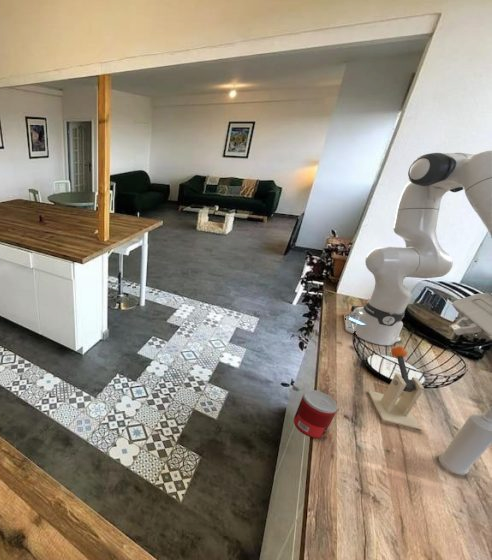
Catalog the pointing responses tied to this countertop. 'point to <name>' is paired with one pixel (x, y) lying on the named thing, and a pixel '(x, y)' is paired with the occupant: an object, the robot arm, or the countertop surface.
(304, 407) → the canned food
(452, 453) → the bottle
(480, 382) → the countertop surface
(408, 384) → the switch lever
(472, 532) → the countertop surface
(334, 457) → the countertop surface
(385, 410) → the switch base
